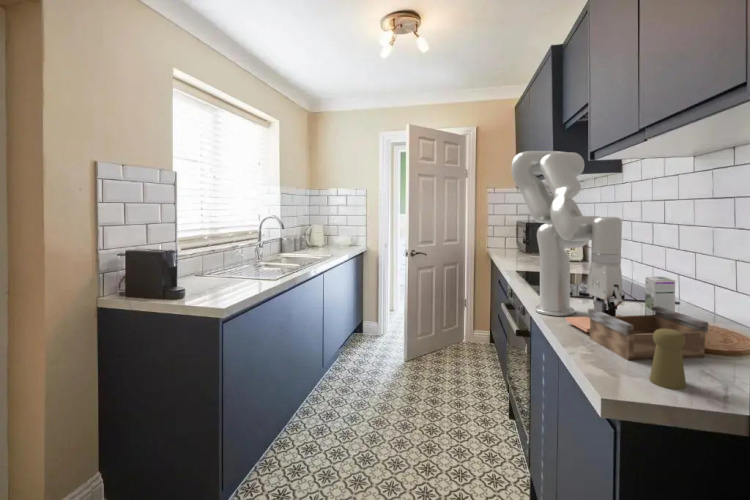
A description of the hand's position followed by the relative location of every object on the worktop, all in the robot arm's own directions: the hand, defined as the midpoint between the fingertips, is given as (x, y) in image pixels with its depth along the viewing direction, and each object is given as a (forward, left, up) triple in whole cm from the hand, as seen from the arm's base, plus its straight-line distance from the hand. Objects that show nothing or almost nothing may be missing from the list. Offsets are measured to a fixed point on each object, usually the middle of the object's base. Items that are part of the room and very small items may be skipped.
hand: (604, 319), depth 115 cm
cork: (+36, -9, -3) cm, 37 cm away
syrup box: (-1, +17, -3) cm, 17 cm away
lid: (0, 0, -2) cm, 2 cm away
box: (+16, 0, -3) cm, 16 cm away
